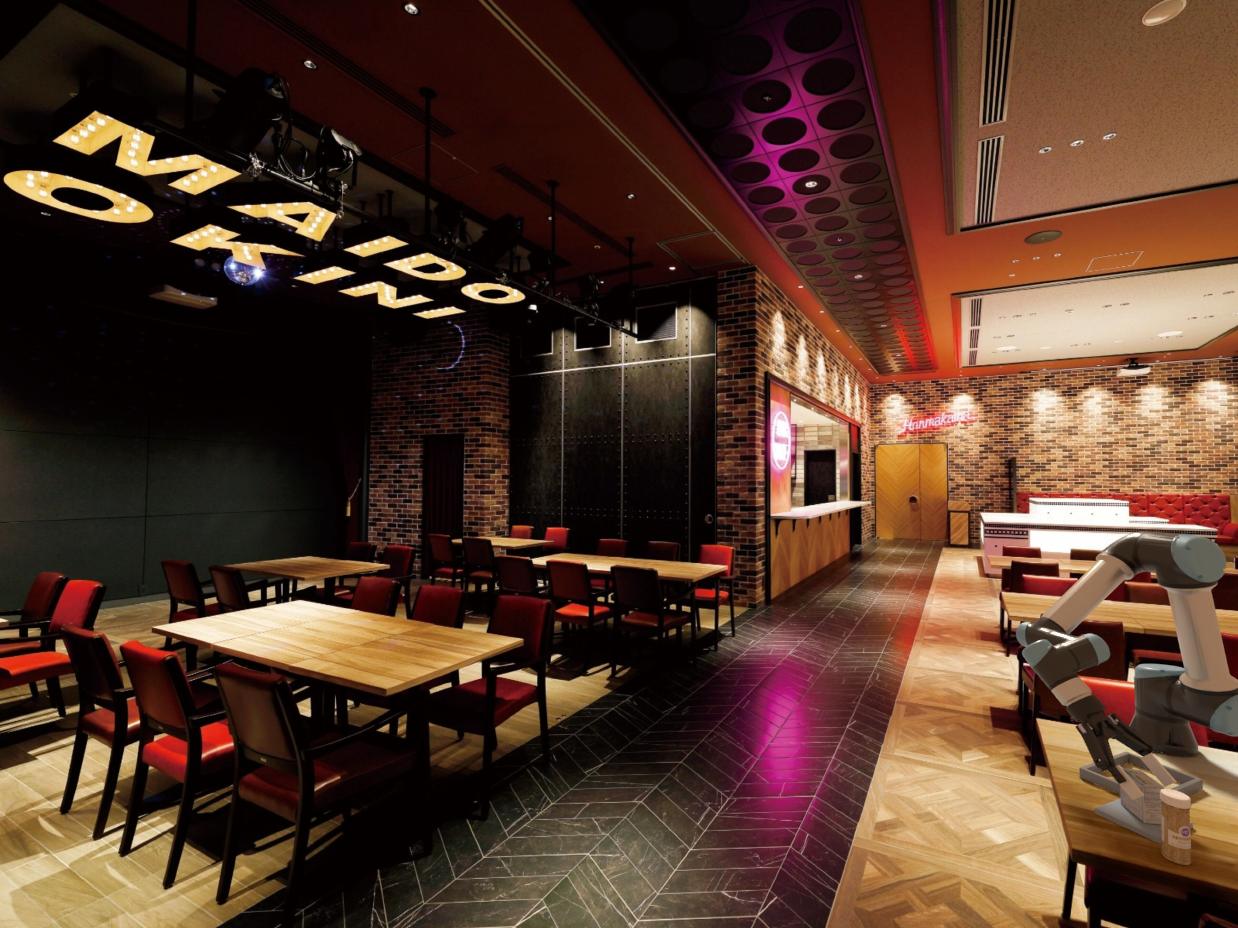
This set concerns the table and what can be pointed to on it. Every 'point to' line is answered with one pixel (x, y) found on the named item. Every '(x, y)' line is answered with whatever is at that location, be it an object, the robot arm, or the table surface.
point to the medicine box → (1143, 797)
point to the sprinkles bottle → (1175, 826)
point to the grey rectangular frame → (1189, 781)
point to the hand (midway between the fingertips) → (1155, 790)
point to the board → (1130, 820)
